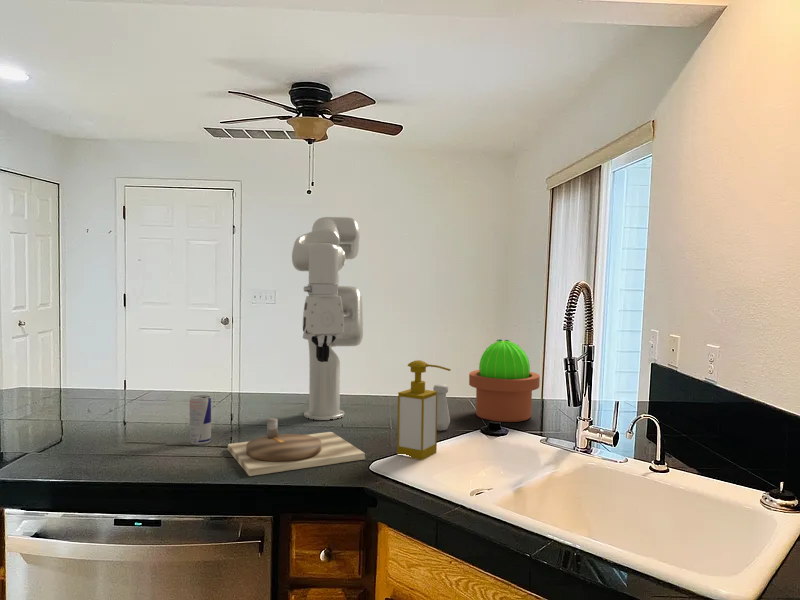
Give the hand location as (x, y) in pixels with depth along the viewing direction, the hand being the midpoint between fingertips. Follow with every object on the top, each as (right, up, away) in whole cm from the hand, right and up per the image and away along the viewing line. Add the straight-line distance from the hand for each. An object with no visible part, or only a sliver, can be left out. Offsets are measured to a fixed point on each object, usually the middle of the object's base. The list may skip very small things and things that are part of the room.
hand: (322, 361), depth 156 cm
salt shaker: (+32, -22, +19) cm, 43 cm away
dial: (-8, -21, -10) cm, 24 cm away
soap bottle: (+27, -23, -7) cm, 36 cm away
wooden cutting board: (-6, -22, -8) cm, 24 cm away
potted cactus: (+53, -22, +36) cm, 68 cm away
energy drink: (-32, -22, +2) cm, 39 cm away
